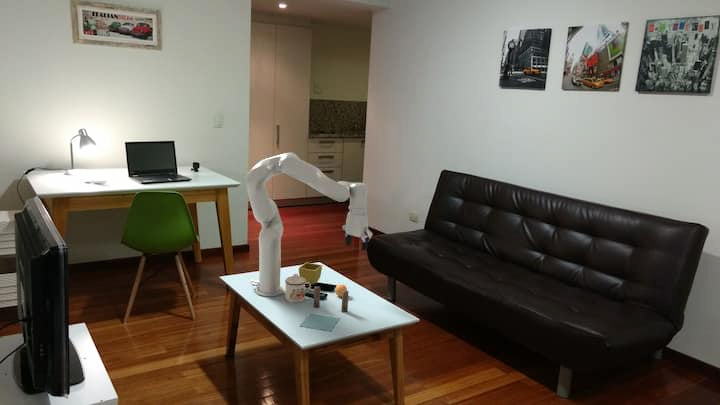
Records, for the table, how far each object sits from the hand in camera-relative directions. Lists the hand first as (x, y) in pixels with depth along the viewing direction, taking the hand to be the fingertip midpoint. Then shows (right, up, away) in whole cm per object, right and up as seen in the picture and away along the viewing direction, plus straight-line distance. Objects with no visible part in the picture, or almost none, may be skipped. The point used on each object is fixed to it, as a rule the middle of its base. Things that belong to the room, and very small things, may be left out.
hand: (356, 247), depth 252 cm
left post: (-17, -25, -11) cm, 32 cm away
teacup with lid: (-26, -23, -2) cm, 35 cm away
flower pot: (-22, -19, +16) cm, 33 cm away
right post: (-5, -26, -13) cm, 30 cm away
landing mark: (-15, -28, -25) cm, 41 cm away
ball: (-7, -20, +3) cm, 21 cm away
